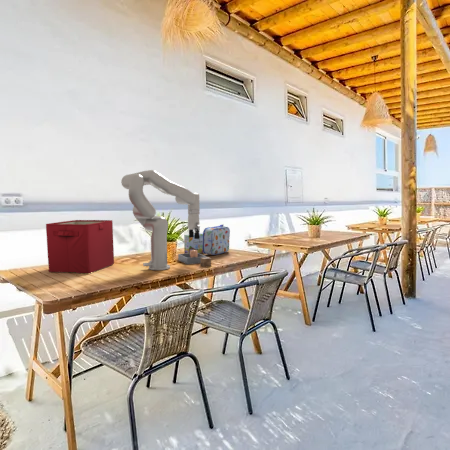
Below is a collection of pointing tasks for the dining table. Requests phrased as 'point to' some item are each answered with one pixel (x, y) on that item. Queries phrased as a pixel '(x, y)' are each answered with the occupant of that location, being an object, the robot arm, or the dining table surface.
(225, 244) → the lunch box
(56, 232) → the storage cube
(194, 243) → the snack box
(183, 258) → the tote
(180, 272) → the dining table surface
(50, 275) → the dining table surface
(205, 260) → the walnut cube
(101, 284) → the dining table surface
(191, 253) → the terracotta cylinder
